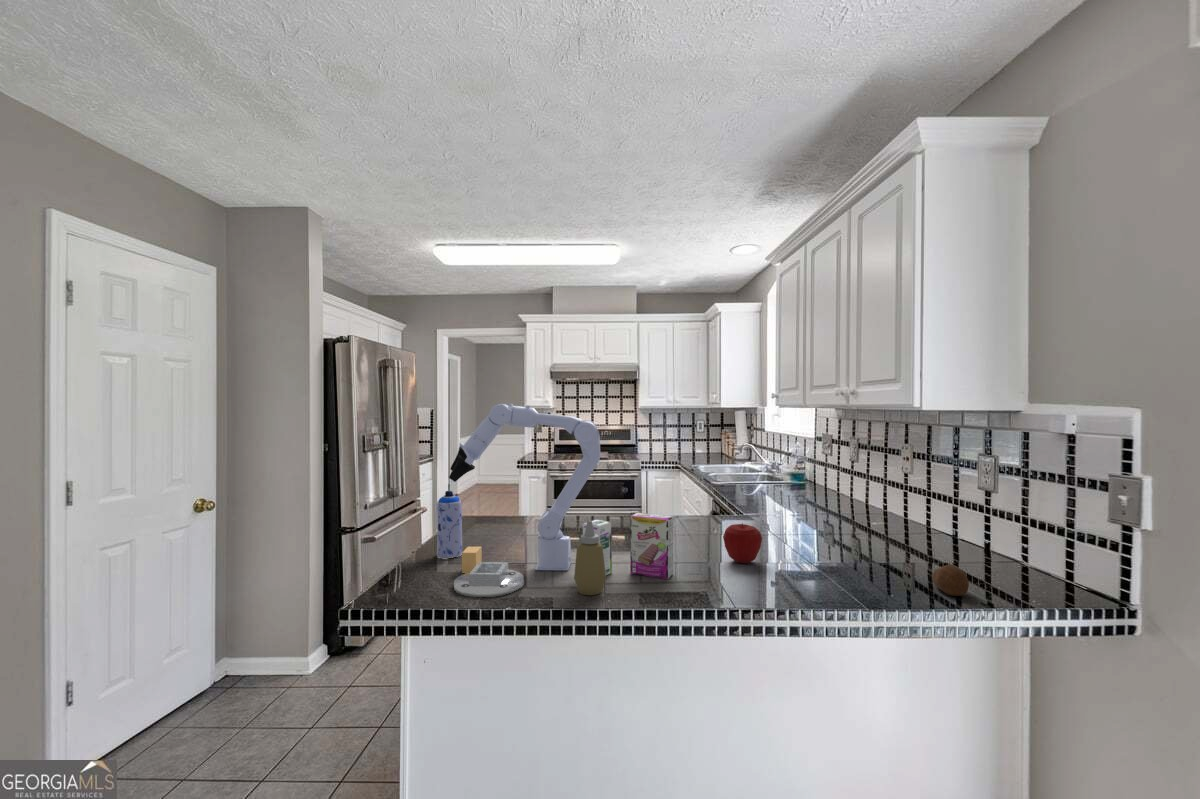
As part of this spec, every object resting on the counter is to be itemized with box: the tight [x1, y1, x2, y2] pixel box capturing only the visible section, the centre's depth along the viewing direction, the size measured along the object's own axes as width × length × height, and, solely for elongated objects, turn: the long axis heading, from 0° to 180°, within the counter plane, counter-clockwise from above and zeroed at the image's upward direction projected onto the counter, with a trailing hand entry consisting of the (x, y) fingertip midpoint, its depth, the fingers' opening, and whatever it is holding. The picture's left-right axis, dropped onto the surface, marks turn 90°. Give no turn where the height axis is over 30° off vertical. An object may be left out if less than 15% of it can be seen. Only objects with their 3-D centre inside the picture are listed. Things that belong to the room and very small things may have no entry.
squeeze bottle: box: [573, 520, 607, 596], centre depth 145 cm, size 8×8×18 cm
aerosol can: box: [436, 490, 463, 559], centre depth 178 cm, size 8×8×20 cm
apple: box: [722, 522, 763, 564], centre depth 169 cm, size 11×11×12 cm
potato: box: [931, 564, 970, 597], centre depth 143 cm, size 7×10×7 cm
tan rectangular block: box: [461, 546, 483, 574], centre depth 163 cm, size 4×6×6 cm, turn 177°
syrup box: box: [582, 519, 613, 576], centre depth 159 cm, size 6×6×14 cm
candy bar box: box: [629, 512, 674, 580], centre depth 158 cm, size 11×5×16 cm, turn 65°
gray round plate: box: [453, 561, 525, 598], centre depth 151 cm, size 18×18×4 cm
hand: (452, 475), depth 166 cm, fingers open, 7 cm apart
